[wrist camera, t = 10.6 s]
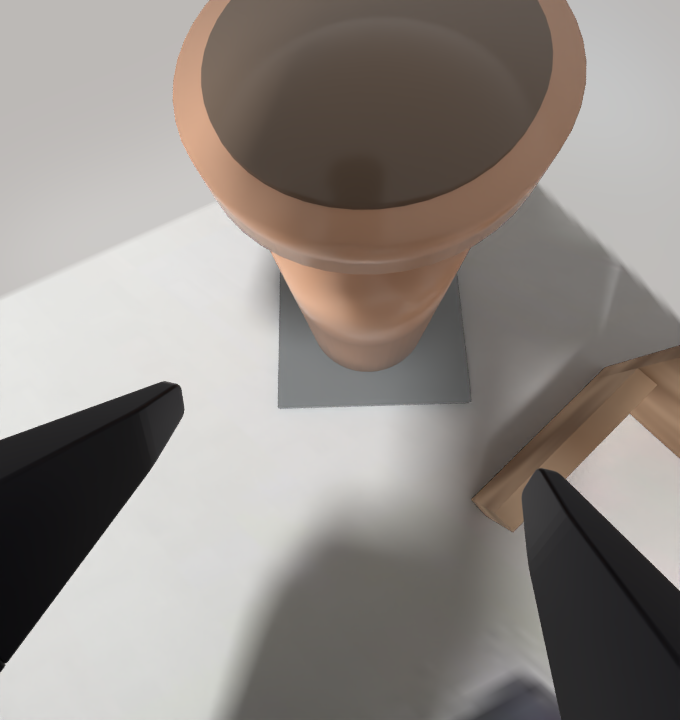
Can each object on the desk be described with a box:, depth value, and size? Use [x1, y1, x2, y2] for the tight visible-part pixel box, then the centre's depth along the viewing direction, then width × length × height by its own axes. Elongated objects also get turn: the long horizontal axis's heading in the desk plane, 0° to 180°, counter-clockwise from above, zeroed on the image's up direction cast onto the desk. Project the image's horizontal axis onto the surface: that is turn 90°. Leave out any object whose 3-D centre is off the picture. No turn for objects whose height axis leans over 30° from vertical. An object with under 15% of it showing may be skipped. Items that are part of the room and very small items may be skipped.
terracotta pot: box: [173, 0, 586, 372], centre depth 12 cm, size 7×7×13 cm
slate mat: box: [278, 271, 471, 409], centre depth 19 cm, size 10×10×1 cm
